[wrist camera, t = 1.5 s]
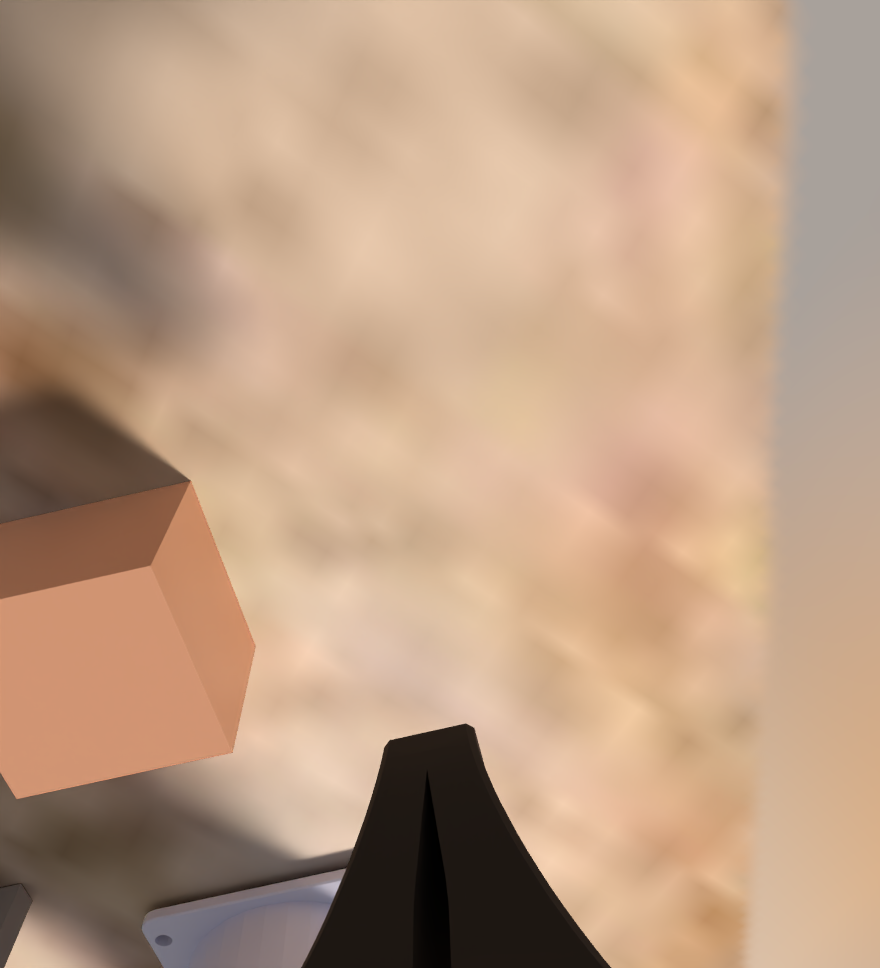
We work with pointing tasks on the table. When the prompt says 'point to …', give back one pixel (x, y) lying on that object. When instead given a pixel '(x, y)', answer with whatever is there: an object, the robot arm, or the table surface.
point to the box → (11, 917)
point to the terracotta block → (116, 642)
